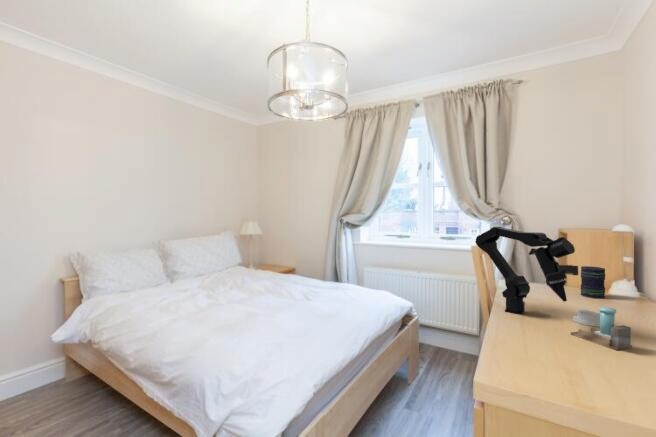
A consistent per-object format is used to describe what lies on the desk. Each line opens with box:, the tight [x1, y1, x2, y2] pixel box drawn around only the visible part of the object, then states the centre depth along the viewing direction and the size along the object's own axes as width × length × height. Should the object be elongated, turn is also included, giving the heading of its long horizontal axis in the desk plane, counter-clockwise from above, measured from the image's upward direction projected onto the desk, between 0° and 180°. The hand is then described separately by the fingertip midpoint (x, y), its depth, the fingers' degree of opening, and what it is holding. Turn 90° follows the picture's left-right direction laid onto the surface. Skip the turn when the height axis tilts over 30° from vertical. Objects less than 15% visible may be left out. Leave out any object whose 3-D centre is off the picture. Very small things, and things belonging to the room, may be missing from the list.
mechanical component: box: [572, 309, 600, 328], centre depth 123 cm, size 10×4×10 cm
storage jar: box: [580, 265, 606, 300], centre depth 162 cm, size 10×10×15 cm
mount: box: [570, 324, 633, 351], centre depth 105 cm, size 14×8×7 cm, turn 17°
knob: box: [595, 306, 617, 339], centre depth 103 cm, size 5×4×11 cm
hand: (565, 301), depth 117 cm, fingers closed
